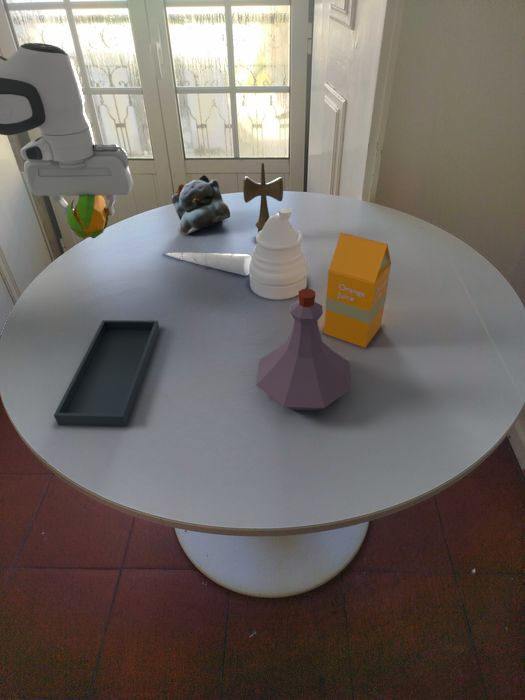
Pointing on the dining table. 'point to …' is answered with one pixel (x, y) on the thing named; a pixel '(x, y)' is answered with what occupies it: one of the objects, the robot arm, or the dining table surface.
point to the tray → (109, 375)
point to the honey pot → (278, 259)
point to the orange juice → (356, 289)
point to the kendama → (262, 194)
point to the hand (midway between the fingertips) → (89, 214)
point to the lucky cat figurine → (199, 204)
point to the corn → (88, 216)
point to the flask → (304, 363)
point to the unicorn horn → (218, 261)
